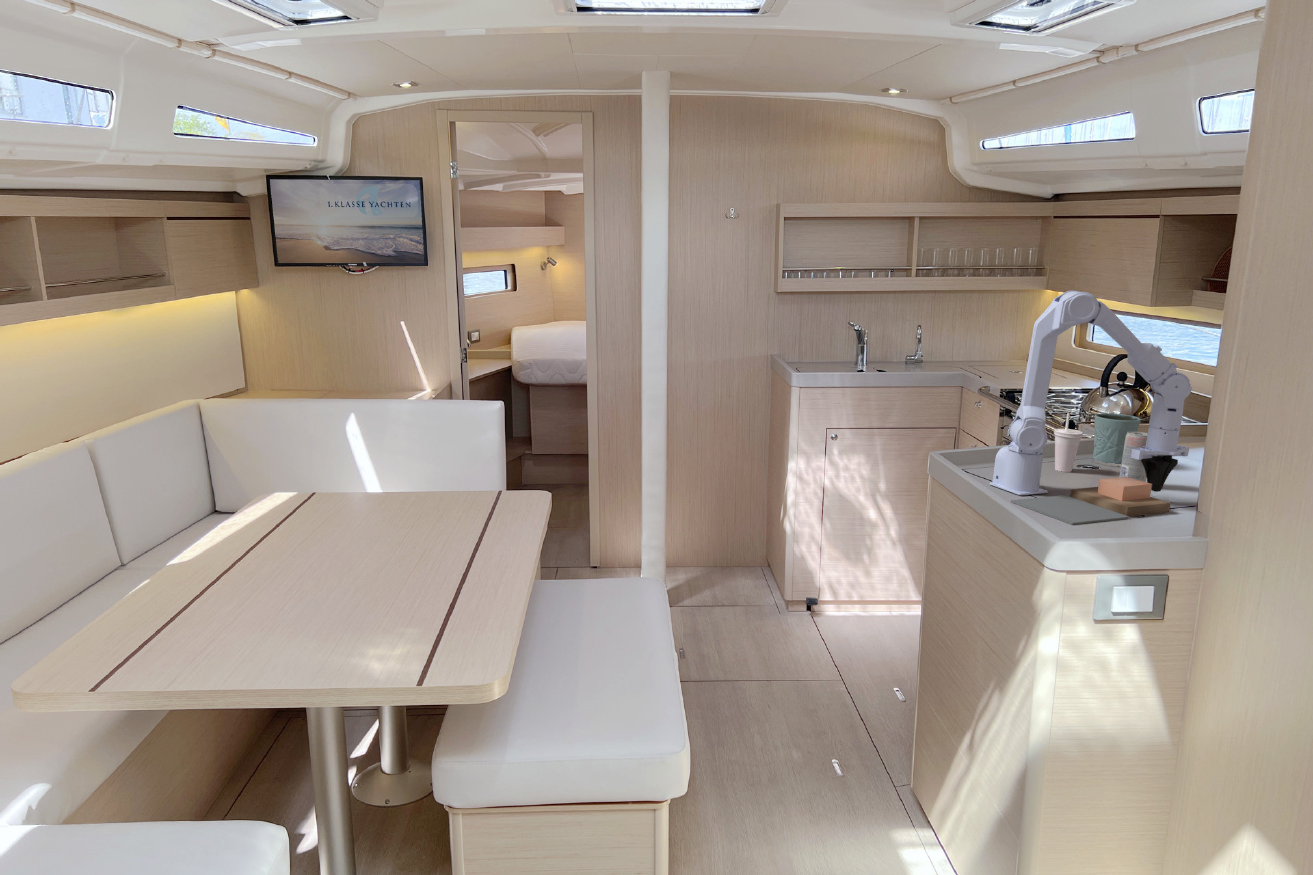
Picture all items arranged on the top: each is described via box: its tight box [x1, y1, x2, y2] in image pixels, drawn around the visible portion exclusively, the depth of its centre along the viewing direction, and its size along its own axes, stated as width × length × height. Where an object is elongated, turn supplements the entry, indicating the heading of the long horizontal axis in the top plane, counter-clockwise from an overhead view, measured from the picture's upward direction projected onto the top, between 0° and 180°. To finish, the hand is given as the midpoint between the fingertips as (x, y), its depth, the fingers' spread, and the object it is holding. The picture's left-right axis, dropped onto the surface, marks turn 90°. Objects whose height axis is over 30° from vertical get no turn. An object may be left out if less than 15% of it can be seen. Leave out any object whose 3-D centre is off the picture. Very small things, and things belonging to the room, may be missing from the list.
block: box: [1097, 476, 1152, 501], centre depth 185 cm, size 6×8×3 cm
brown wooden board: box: [1069, 486, 1171, 518], centre depth 185 cm, size 14×12×2 cm
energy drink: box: [1118, 431, 1148, 482], centre depth 201 cm, size 5×5×12 cm
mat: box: [1010, 494, 1130, 526], centre depth 180 cm, size 16×15×1 cm
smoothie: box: [1053, 412, 1084, 473], centre depth 213 cm, size 6×6×14 cm
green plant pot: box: [1092, 412, 1141, 464], centre depth 223 cm, size 10×10×12 cm
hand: (1154, 490), depth 188 cm, fingers closed
